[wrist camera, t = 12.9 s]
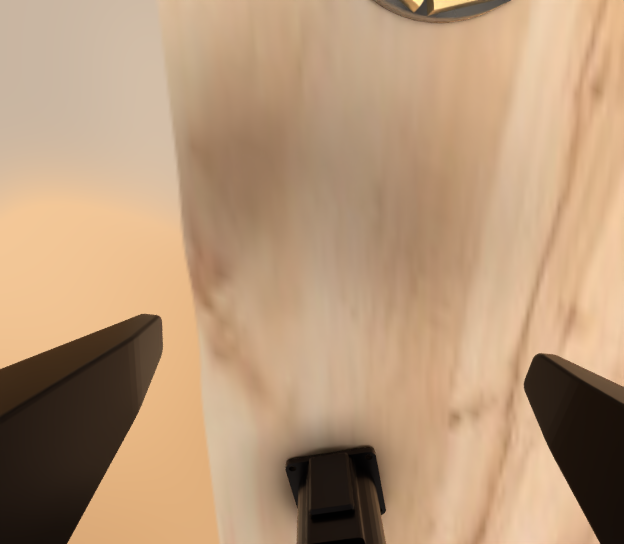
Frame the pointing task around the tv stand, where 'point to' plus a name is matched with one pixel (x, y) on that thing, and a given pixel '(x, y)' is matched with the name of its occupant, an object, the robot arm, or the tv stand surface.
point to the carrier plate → (441, 9)
